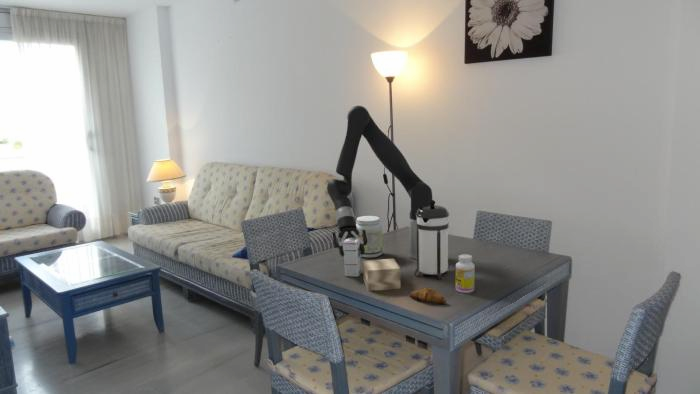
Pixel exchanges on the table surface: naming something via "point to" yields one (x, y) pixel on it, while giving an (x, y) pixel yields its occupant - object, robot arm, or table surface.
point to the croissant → (428, 296)
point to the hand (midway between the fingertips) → (352, 254)
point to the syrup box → (352, 257)
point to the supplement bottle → (465, 274)
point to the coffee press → (432, 240)
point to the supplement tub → (371, 235)
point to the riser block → (381, 274)
